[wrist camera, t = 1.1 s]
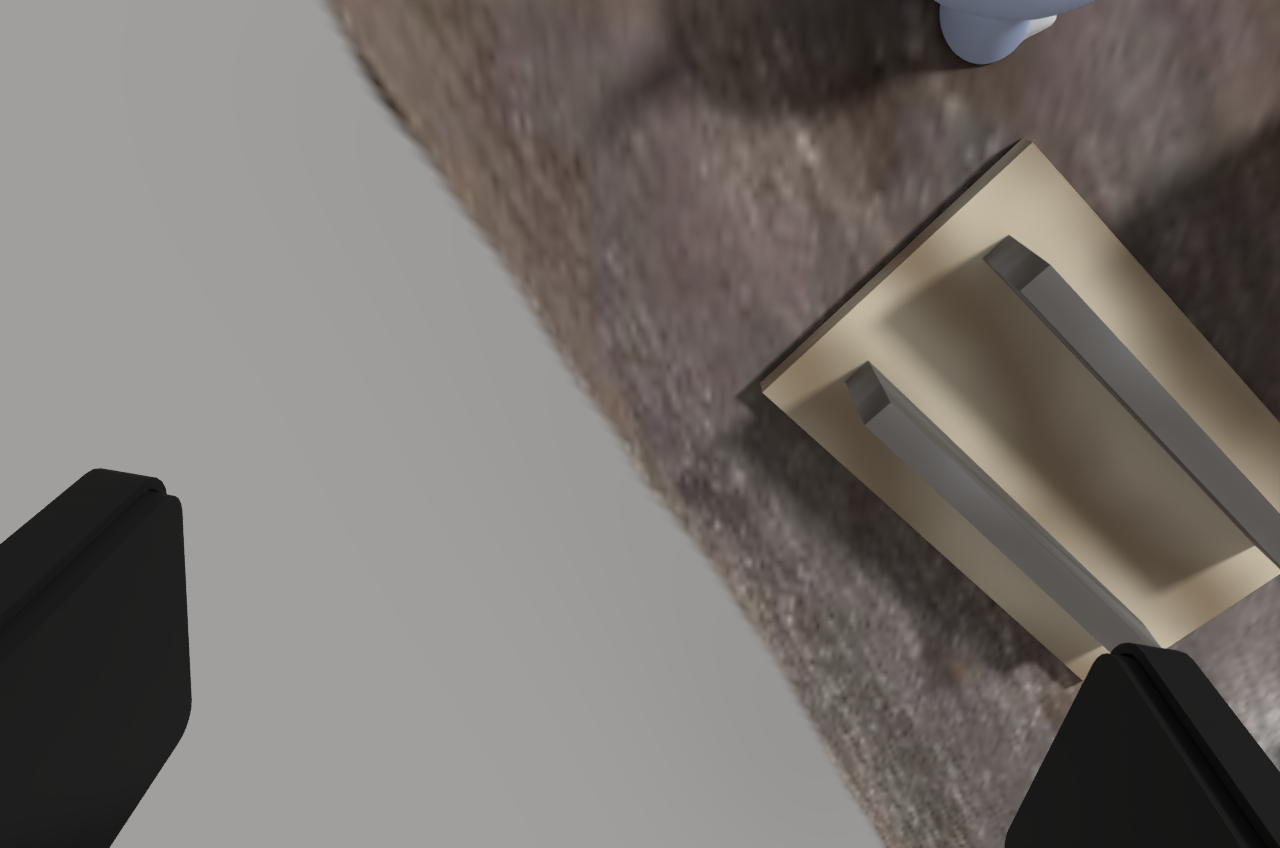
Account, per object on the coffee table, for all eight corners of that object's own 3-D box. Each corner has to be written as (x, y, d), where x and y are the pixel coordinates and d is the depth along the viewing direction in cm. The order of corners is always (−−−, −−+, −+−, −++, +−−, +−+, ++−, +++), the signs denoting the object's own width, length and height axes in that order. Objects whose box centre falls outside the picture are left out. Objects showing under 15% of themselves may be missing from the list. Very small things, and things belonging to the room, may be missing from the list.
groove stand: (1022, 138, 32) (1079, 161, 28) (1347, 505, 38) (1437, 574, 34) (760, 382, 37) (772, 437, 32) (1088, 679, 43) (1137, 760, 38)
